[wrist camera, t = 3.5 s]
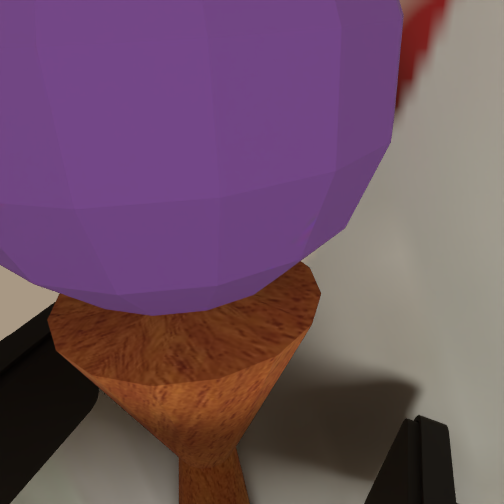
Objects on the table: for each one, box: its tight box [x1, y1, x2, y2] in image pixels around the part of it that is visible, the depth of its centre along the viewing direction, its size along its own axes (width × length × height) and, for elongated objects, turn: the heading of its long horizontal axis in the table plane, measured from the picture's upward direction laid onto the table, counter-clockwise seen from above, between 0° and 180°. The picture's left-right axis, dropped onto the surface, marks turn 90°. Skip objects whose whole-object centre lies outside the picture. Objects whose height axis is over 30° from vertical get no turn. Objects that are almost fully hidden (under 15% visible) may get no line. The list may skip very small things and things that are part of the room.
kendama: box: [0, 0, 403, 504], centre depth 9 cm, size 6×6×20 cm
